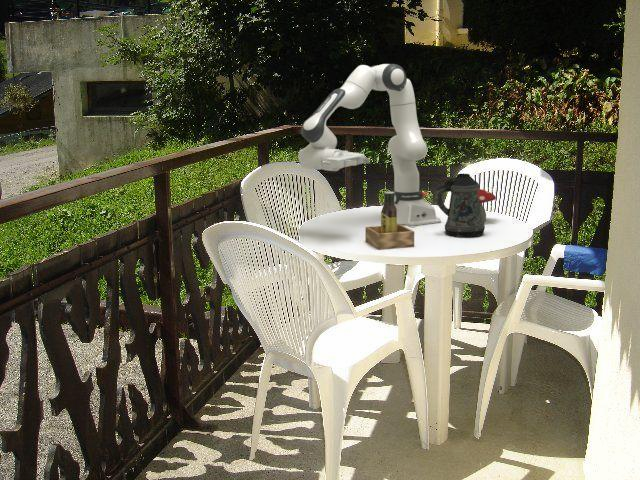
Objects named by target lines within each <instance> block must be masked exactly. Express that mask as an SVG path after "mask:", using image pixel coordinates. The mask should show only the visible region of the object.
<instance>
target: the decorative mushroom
mask: <svg viewBox="0 0 640 480" xmlns="http://www.w3.org/2000/svg"><path fill="white" fill-rule="evenodd" d="M478 196H479V203H480V210H481V216H482V220H483V223H484V222H486V220H487V213H486V209H485V207H484V206H483V204H485V203H487V202H491V201H495V200H496V199H497V197H496V195H495V194H493V193H492V192H491V191H488V190H485V189H482V188H479V190H478Z"/></svg>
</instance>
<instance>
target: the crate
mask: <svg viewBox="0 0 640 480" xmlns="http://www.w3.org/2000/svg"><path fill="white" fill-rule="evenodd" d="M364 230H365V231H364V232H365V237H364V238H365V242H366V243H367V244H368V245H370V246H371V247H373V248H375V249H376V250H378V251H379V250H390V249H402V248H415V231H414V230H412V229H410V228H408V227H406V226H405V225H404V224H397V232H395V233H382V234H381V225H375V226H365V229H364Z"/></svg>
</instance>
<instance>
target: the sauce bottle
mask: <svg viewBox="0 0 640 480" xmlns="http://www.w3.org/2000/svg"><path fill="white" fill-rule="evenodd" d="M394 196H395V193H394V192H393V191H384V195H383V197H384V202H383V206H382V209H381V211H380V212H381V213H380V220H381V221H380V226H381V234H382V233H395V232H397V225H398V224H397V208H396V206H395V205H394Z"/></svg>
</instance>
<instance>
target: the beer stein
mask: <svg viewBox="0 0 640 480" xmlns="http://www.w3.org/2000/svg"><path fill="white" fill-rule="evenodd" d="M480 187H481V186H480V183H478V182H477V181H476V180H475V179H473V177H472V176H471V175H470V174H469V173H457V174H456V176H454V177H451V178H446V179H445V180H444V184H442V185H441V186H439V187H437V188H436V192H435V202H436V205H438V208H439V209H440V210H441V211H442V212H443V213H444V214H445V215H446V216H447V219H446V222H445V223H444V230H445V235H446V236H449V237H453V238H461V239H473V238H479V237H482V235H483V236H484V232H485V228H486V225H485V223H484V222H483V220H482V216H481V210H480V203H479V196H478V190H479V189H480ZM445 192H447V193H449V192H450V200H449V205H448V206H449V207H447V206H446V205H445V203H444V202H443V200H442V194H443V193H445Z"/></svg>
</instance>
